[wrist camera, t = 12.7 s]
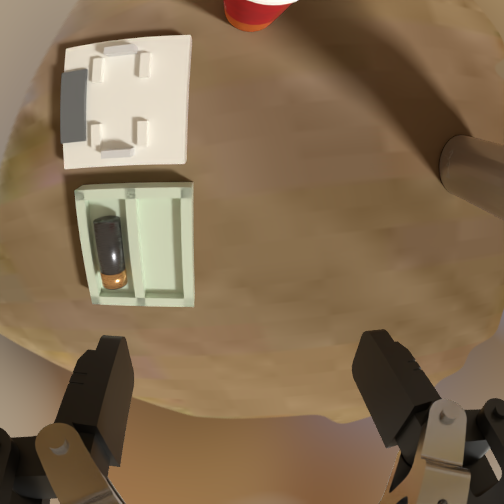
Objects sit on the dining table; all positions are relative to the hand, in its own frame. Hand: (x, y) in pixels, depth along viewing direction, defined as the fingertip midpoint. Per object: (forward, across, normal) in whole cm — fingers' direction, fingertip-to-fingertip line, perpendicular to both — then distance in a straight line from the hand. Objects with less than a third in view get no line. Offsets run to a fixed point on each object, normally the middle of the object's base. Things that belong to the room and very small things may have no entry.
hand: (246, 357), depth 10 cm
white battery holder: (+28, +11, -9) cm, 31 cm away
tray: (+28, +10, +8) cm, 31 cm away
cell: (+26, +14, +8) cm, 31 cm away
